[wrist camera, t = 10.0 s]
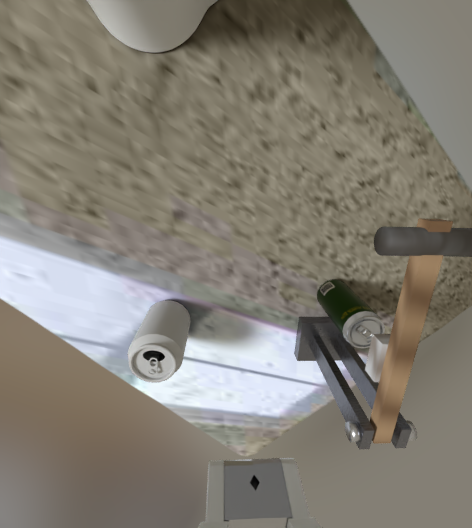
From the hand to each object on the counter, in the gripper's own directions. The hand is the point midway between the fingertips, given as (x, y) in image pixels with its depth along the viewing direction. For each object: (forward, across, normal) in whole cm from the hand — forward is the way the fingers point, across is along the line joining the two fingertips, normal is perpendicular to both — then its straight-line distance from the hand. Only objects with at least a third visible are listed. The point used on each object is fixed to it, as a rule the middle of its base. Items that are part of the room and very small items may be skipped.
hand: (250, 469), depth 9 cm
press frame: (+34, -18, +19) cm, 43 cm away
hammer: (+19, -18, +7) cm, 27 cm away
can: (+34, +10, +15) cm, 39 cm away
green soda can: (+34, -18, +10) cm, 40 cm away
